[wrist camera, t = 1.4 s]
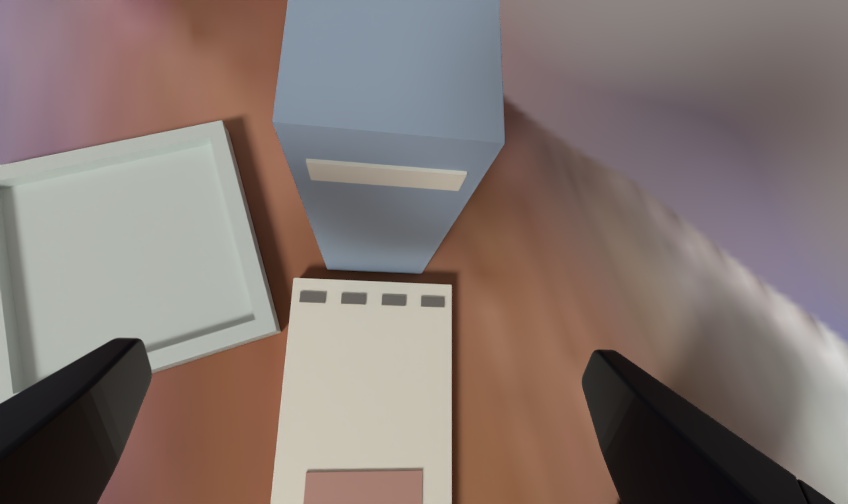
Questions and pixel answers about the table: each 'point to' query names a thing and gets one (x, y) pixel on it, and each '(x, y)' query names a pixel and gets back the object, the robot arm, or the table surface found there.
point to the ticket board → (366, 395)
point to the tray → (128, 254)
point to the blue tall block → (388, 122)
